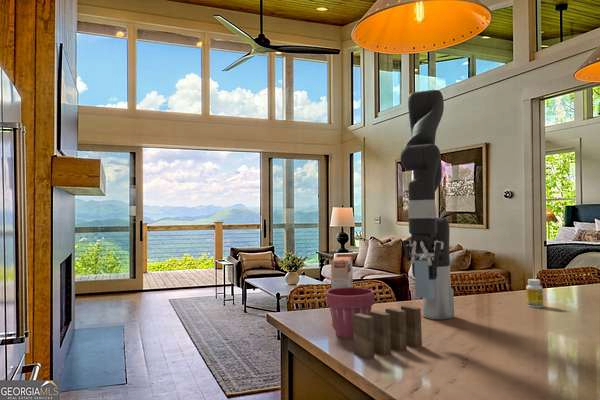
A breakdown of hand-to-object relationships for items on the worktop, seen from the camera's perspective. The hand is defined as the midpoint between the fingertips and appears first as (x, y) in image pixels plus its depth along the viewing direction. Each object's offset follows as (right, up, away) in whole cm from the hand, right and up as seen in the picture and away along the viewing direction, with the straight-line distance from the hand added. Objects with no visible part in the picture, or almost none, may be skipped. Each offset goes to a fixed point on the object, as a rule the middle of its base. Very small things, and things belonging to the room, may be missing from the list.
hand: (424, 277), depth 130 cm
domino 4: (-4, -17, -3) cm, 18 cm away
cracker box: (-20, -19, +25) cm, 37 cm away
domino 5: (0, -5, 0) cm, 5 cm away
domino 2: (-14, -17, -9) cm, 24 cm away
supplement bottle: (+51, -17, +41) cm, 67 cm away
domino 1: (-18, -18, -12) cm, 28 cm away
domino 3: (-9, -17, -6) cm, 21 cm away
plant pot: (-19, -18, +9) cm, 28 cm away
